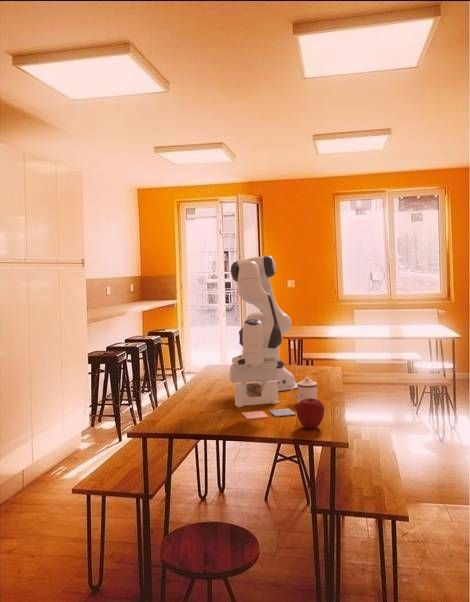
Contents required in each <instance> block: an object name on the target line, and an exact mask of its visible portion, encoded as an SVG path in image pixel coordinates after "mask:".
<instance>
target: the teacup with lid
mask: <svg viewBox="0 0 470 602" xmlns="http://www.w3.org/2000/svg"><path fill="white" fill-rule="evenodd" d="M297 383H298V384H297V386H298V387H293V388H292V389H290V393H291V396H292V397H293V398H295V399H297V404H298V403H299V402H300V401H301V400H304V399H308V398H314V399H317V400H318V383H317V382H316V381H313V380H312V379H310V377H304V379H303V380H301V381H299V382H297ZM295 389H297V395H295V394H294V393H293V391H294V390H295Z"/></svg>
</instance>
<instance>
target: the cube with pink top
mask: <svg viewBox="0 0 470 602" xmlns="http://www.w3.org/2000/svg"><path fill="white" fill-rule="evenodd" d="M253 382H254V383H249V382H247V383H248V384H247V387H248V388H249V390H248V391H249V392H247V395H248V396H249V397H260V396H261V385H260V384H259V383H257V381H253Z"/></svg>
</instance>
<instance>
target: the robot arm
mask: <svg viewBox="0 0 470 602" xmlns="http://www.w3.org/2000/svg"><path fill="white" fill-rule="evenodd" d="M276 271H277V263H276V261H275V260H274V258H273V257H272V256H271V255H263V256H254V257H250V258H246V259H242V260H237V261H234V262H233V263H232V264H231V266H230V275H231V278H232V280H233V281H234V282H236V283H237V290H238V291H237V292H238V296H239V297H240V299H241V300H242V301H244V302H246V303H247V304H249V305H252V306H253V305H254V307H255V308H257V309H258V310H259V311H256V312H252V313H249V314H248V315H247V317H246V320H245V321H243V326H242V327H241V328H240V329H239V331H238V335H239V342H238V343H239V345H240V346H242V347H243V348H242V354H239V355H237V356H234V357H233V358H231V362H232V364H231V365H230V367H229V375H228V376H229V377H228V378H229V379H228V380H229V381H230V383H232V384H236V383H242V385H243V387H244V392H245V393H246V392H249V391H248V390H249V388H248V387H246V386H245V384H246V383H249V382H262V385H261V391H264V389H263V387H264V386H265V384H266V381H276V380H277V381H278V392H281V391H287V390H289V391H290V390H291V389H292V388H293V387H298V386H297V384H298V382H296V380H295V377H294V374H293V373H291V372H290V371H289V370H288V369H286V368H285V367H284V366H287V362H286V361H283V360H281V359H280V357H281V355H280V352H281V351H280V349H281V348H280V345H281V344H282V342H283V335H284V334H287V333H289V332H290V330H291V328H292V319H291V318H290V316H289V314H287V313H285V311H283V309H281V307H279V305H278V303H277V301H276V299H275V295H274V289H273V287H272V283H271V282H272V281H271V278H272V277H273V276H274V275H276Z"/></svg>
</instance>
